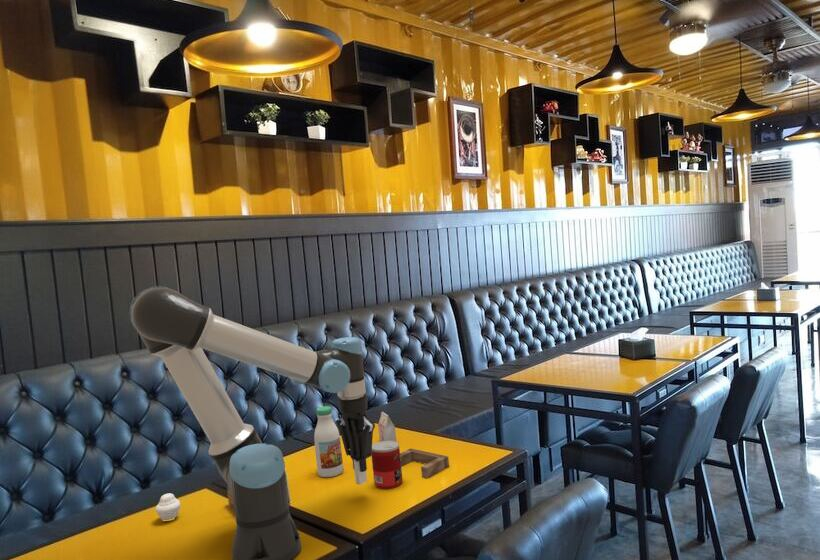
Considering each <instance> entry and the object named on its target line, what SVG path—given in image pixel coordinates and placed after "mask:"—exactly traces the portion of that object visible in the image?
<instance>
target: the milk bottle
mask: <svg viewBox="0 0 820 560" xmlns="http://www.w3.org/2000/svg"><path fill="white" fill-rule="evenodd" d="M315 413H316V417H317V422H316V423H317V424H316V426H315V430H314V435H313V437H314V438H313V439H314V450H315V460H316V461H315V462H316V468H317V469H316V470H317V475H318V476H319V477H322V478H333V477H336V476H337V477H338V476H339V475H341V474H342V473H343V472H344V463H343V453H342V445H341V434H340V430H339V427H338V425H337V424H336V423H335V422H334V420H333V417H332V415H333V409H332V407H331V406H329V405H328V406H327V405H326V406H325V405H324V406H320V407H317V408H316V412H315Z"/></svg>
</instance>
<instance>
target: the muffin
mask: <svg viewBox="0 0 820 560" xmlns="http://www.w3.org/2000/svg"><path fill="white" fill-rule="evenodd" d="M180 510H181V501H180V500H179V499H177V498H176V497H175V495H174V494H173V493H170V492H169V493H165V494H163V495H161V497H160V499H159V501H158V504H157V505H156V506H155V512H156V513H157V515H158V517H159V518H160V519H161V520H162V521H163V520H169V519H173V518H175V517H176V516H177V517H178V514H179V511H180ZM177 517H176V518H177Z"/></svg>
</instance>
